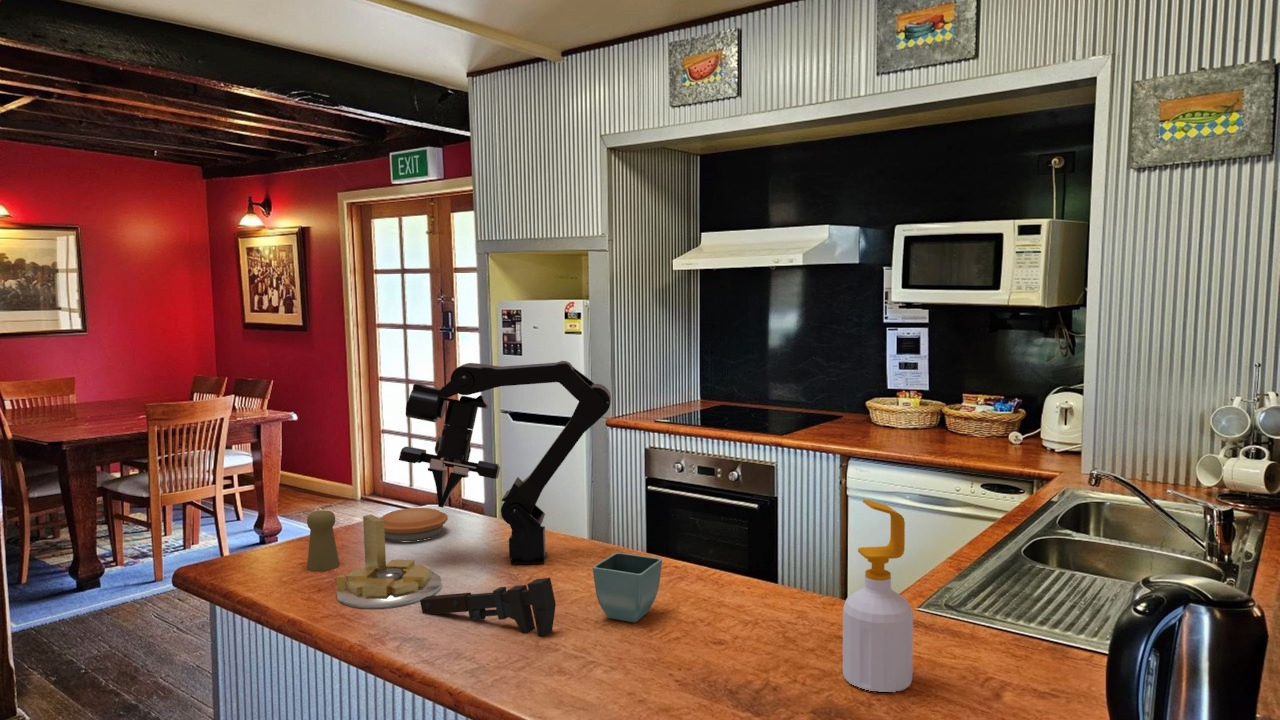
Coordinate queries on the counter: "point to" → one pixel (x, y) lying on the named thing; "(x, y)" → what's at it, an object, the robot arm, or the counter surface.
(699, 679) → the counter surface
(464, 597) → the adjustable wrench
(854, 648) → the soap bottle
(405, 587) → the tan block ring
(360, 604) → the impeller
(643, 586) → the flower pot
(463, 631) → the counter surface
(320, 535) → the olive pepper mill
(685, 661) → the counter surface
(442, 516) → the pie
